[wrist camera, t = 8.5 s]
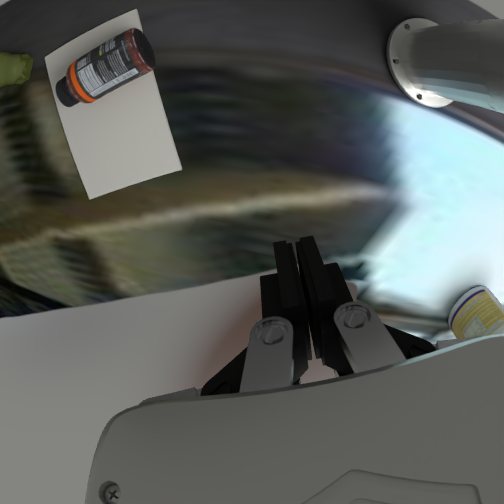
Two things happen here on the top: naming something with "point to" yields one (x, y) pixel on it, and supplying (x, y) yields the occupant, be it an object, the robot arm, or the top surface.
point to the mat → (114, 120)
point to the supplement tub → (477, 314)
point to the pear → (14, 68)
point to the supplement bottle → (106, 68)
